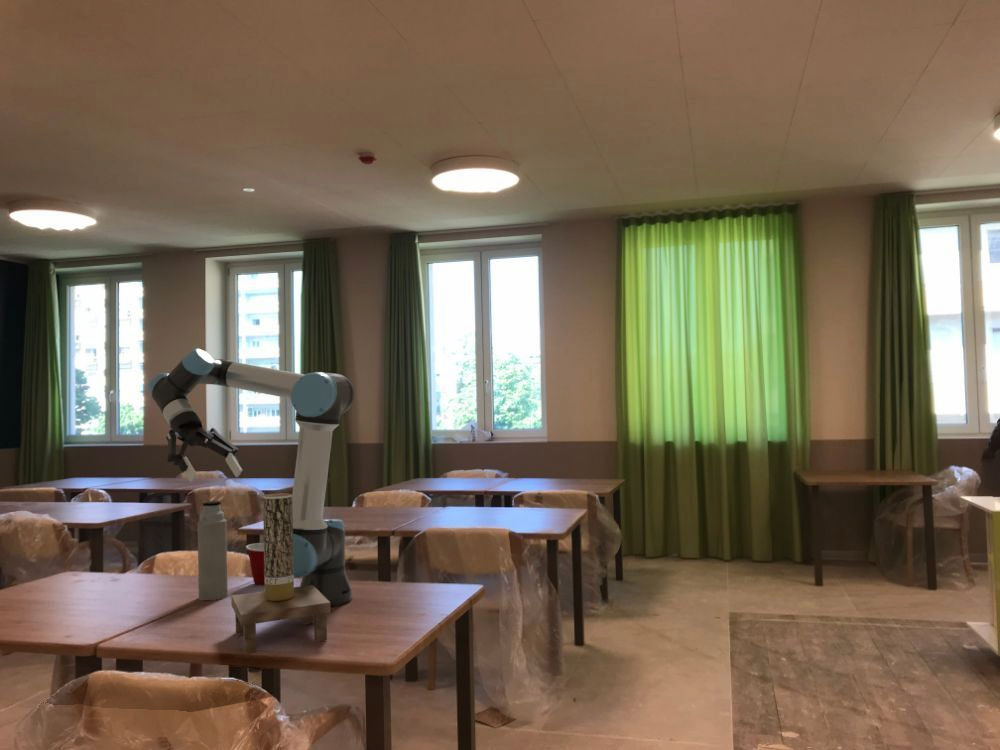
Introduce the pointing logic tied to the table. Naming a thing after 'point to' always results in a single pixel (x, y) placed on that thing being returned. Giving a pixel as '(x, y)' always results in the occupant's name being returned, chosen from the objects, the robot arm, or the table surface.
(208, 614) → the table surface
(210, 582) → the thermos bottle
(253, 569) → the plastic cup
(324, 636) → the stool
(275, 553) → the paper tube
